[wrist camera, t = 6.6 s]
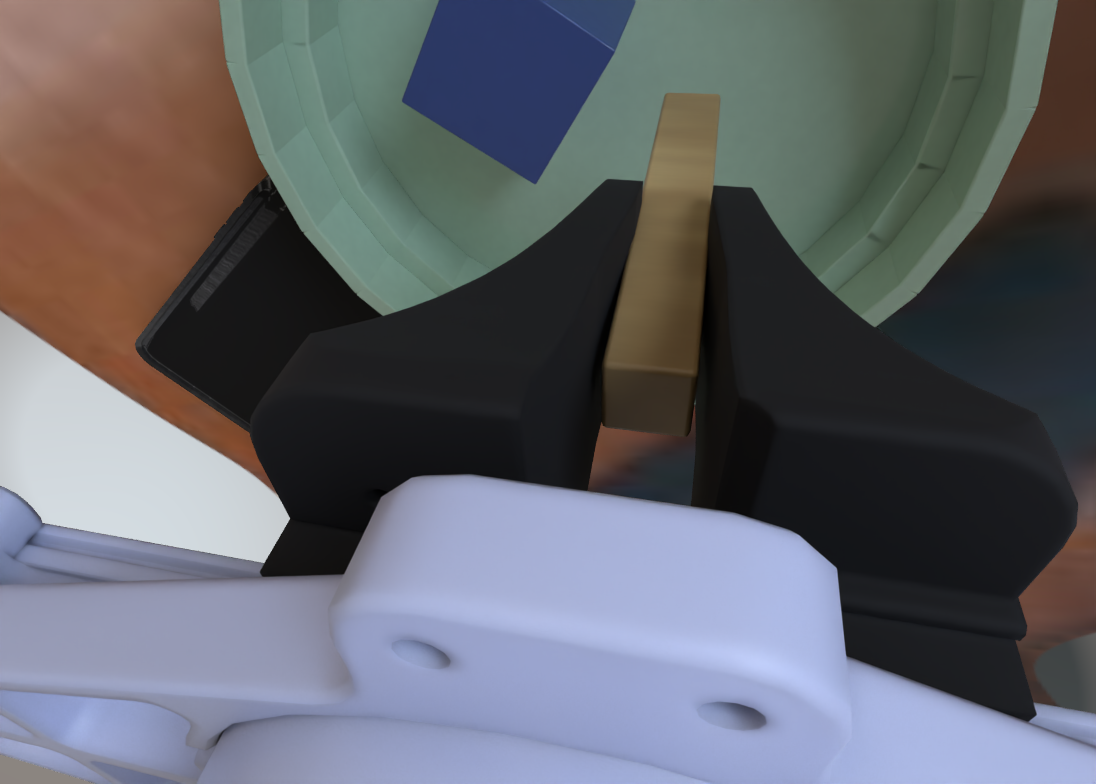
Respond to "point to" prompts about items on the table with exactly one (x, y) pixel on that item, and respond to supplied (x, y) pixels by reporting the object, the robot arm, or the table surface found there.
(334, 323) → the phone
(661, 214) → the stick
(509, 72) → the block
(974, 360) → the table surface
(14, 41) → the table surface
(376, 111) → the bowl
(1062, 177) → the table surface
